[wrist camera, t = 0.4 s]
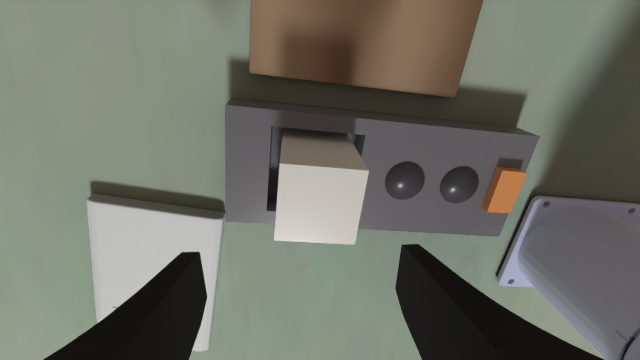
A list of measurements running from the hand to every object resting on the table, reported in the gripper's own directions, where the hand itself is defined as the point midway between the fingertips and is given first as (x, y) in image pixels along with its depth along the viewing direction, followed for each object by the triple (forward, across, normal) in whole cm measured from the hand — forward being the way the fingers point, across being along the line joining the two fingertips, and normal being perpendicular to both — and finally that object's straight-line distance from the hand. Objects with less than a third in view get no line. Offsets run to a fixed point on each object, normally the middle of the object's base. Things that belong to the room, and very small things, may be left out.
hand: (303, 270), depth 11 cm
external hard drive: (+11, +10, +8) cm, 17 cm away
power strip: (+10, -5, 0) cm, 11 cm away
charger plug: (+10, -1, 0) cm, 10 cm away
